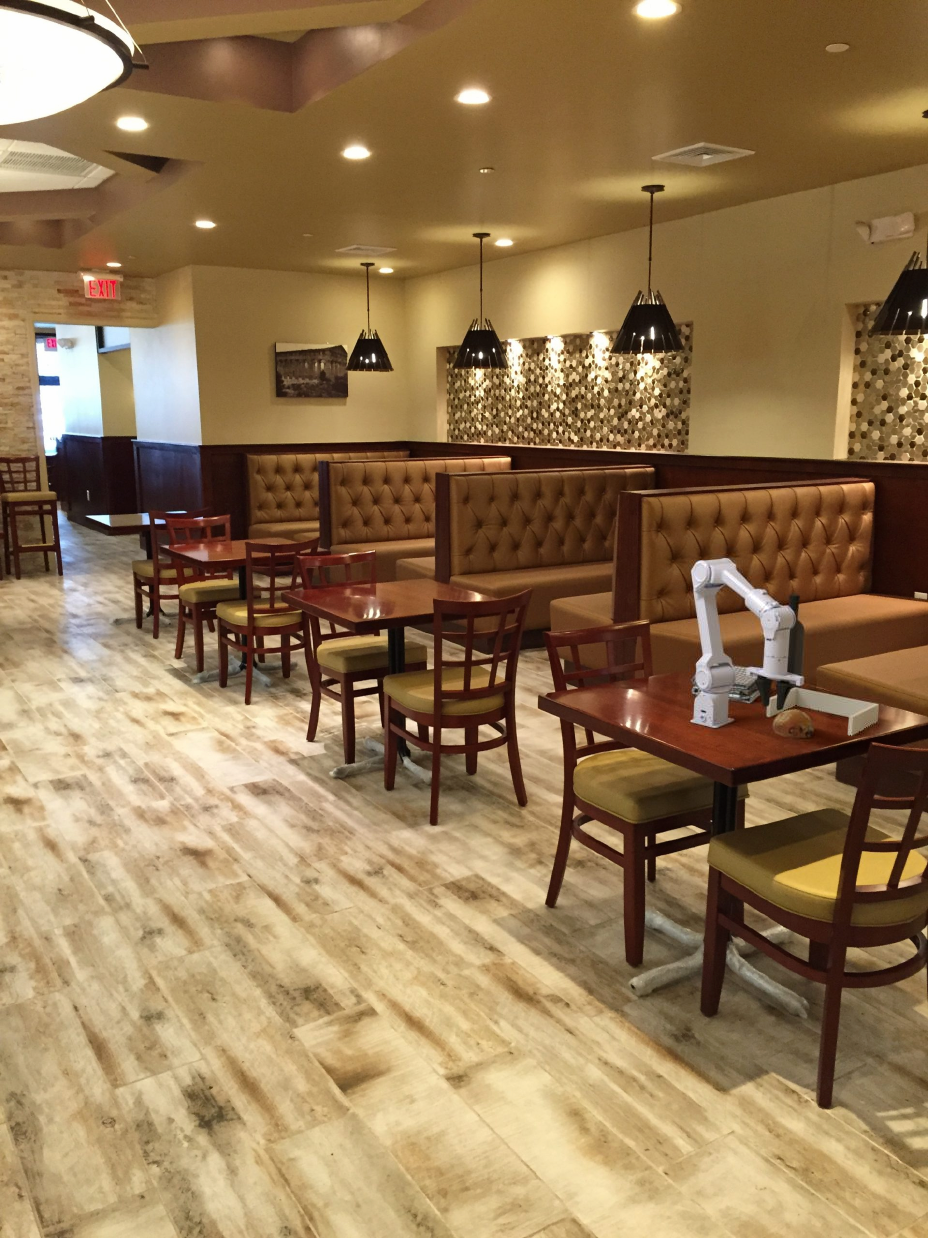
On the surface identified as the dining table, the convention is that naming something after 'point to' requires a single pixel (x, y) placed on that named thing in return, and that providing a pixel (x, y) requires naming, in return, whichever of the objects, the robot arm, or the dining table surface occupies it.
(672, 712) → the dining table surface
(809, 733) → the bread roll
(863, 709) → the box
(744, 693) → the towel
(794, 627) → the wine bottle
